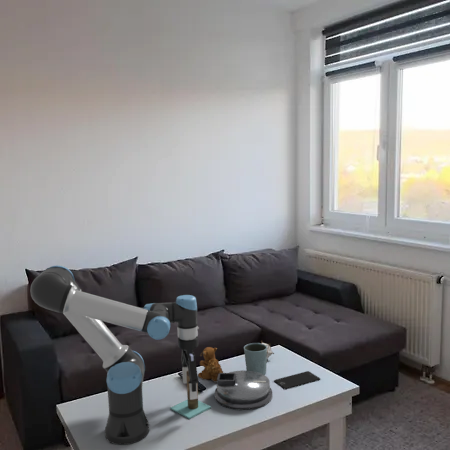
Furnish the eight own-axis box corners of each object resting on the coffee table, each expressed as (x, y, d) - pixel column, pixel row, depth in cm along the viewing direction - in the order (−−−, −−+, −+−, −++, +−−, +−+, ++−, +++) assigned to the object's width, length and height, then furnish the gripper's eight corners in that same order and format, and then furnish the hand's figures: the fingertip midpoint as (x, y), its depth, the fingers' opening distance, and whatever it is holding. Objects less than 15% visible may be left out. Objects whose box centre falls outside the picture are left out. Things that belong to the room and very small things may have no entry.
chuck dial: (269, 379, 209) (269, 366, 208) (269, 404, 188) (269, 389, 187) (219, 379, 211) (219, 365, 210) (214, 403, 190) (213, 388, 189)
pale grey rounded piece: (268, 366, 236) (281, 350, 233) (257, 365, 229) (270, 349, 227) (258, 352, 241) (270, 337, 239) (247, 351, 235) (259, 335, 233)
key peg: (188, 410, 188) (187, 374, 186) (187, 404, 192) (185, 370, 190) (199, 408, 189) (197, 373, 187) (197, 403, 193) (196, 369, 191)
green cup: (268, 377, 215) (267, 351, 213) (244, 378, 215) (244, 351, 213) (266, 367, 225) (266, 342, 223) (244, 368, 225) (243, 342, 223)
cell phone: (273, 382, 212) (273, 379, 211) (308, 372, 220) (308, 370, 220) (285, 390, 204) (285, 388, 204) (320, 380, 212) (320, 378, 212)
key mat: (189, 419, 183) (189, 417, 183) (170, 409, 190) (170, 407, 190) (211, 407, 190) (211, 406, 190) (191, 398, 198) (191, 397, 198)
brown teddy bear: (216, 369, 225) (215, 341, 223) (230, 382, 212) (229, 352, 210) (195, 374, 220) (194, 346, 218) (209, 387, 208) (208, 357, 206)
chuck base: (241, 377, 216) (241, 373, 216) (284, 394, 200) (284, 390, 199) (202, 396, 200) (202, 392, 199) (245, 416, 184) (245, 412, 183)
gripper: (205, 347, 176) (207, 404, 179) (191, 325, 199) (193, 375, 202) (184, 350, 174) (186, 407, 177) (172, 327, 198) (174, 378, 200)
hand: (190, 390), depth 189 cm, fingers open, 13 cm apart
